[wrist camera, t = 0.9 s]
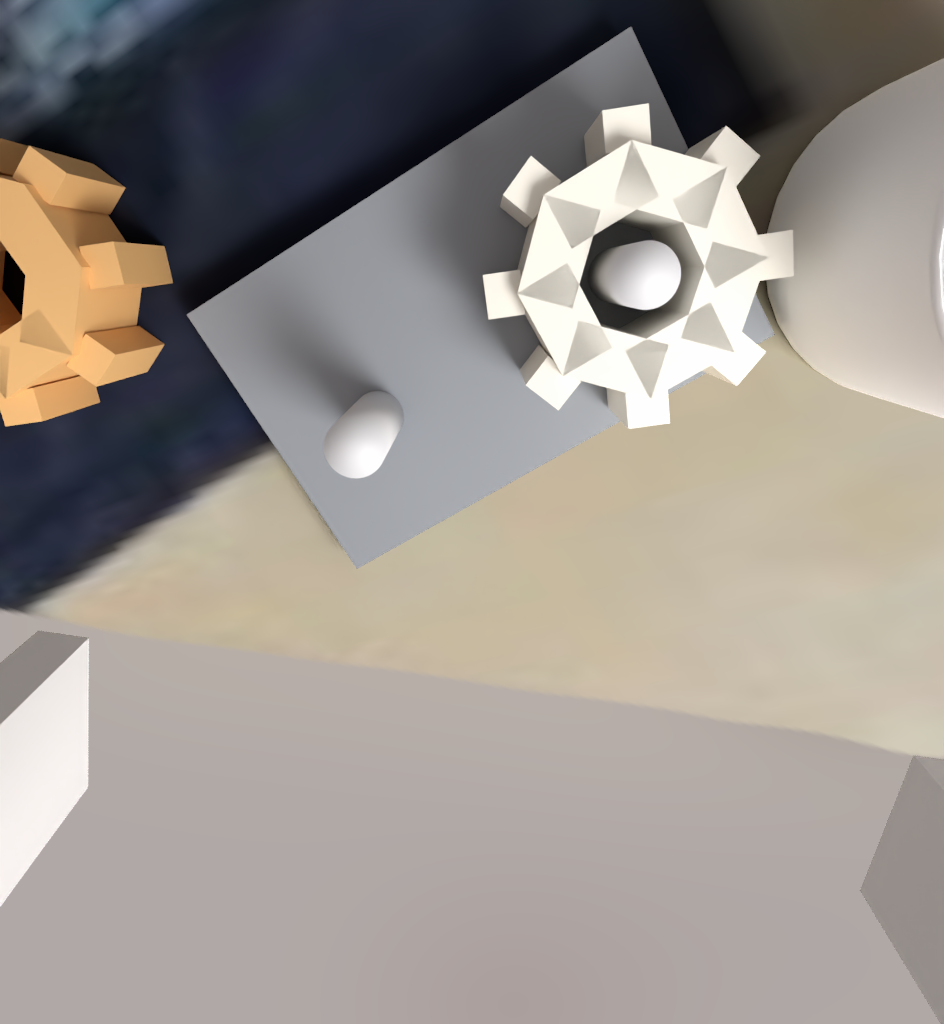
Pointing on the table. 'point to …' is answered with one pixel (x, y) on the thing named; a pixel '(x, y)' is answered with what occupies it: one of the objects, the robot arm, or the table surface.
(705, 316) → the gear
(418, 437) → the gear board
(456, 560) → the table surface
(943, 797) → the robot arm
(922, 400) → the cup
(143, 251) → the gear
